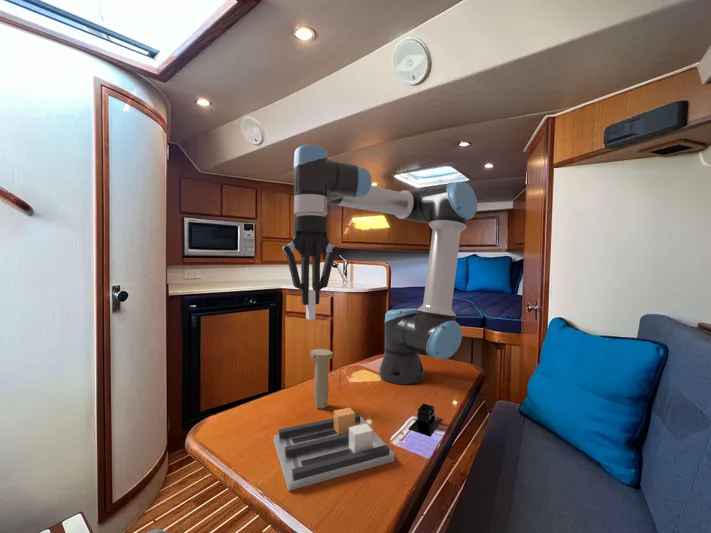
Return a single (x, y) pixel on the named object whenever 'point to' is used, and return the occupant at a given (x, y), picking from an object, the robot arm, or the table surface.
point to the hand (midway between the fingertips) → (310, 318)
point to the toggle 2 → (360, 438)
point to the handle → (321, 376)
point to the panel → (322, 456)
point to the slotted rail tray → (322, 443)
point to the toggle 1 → (343, 420)
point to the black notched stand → (426, 421)
